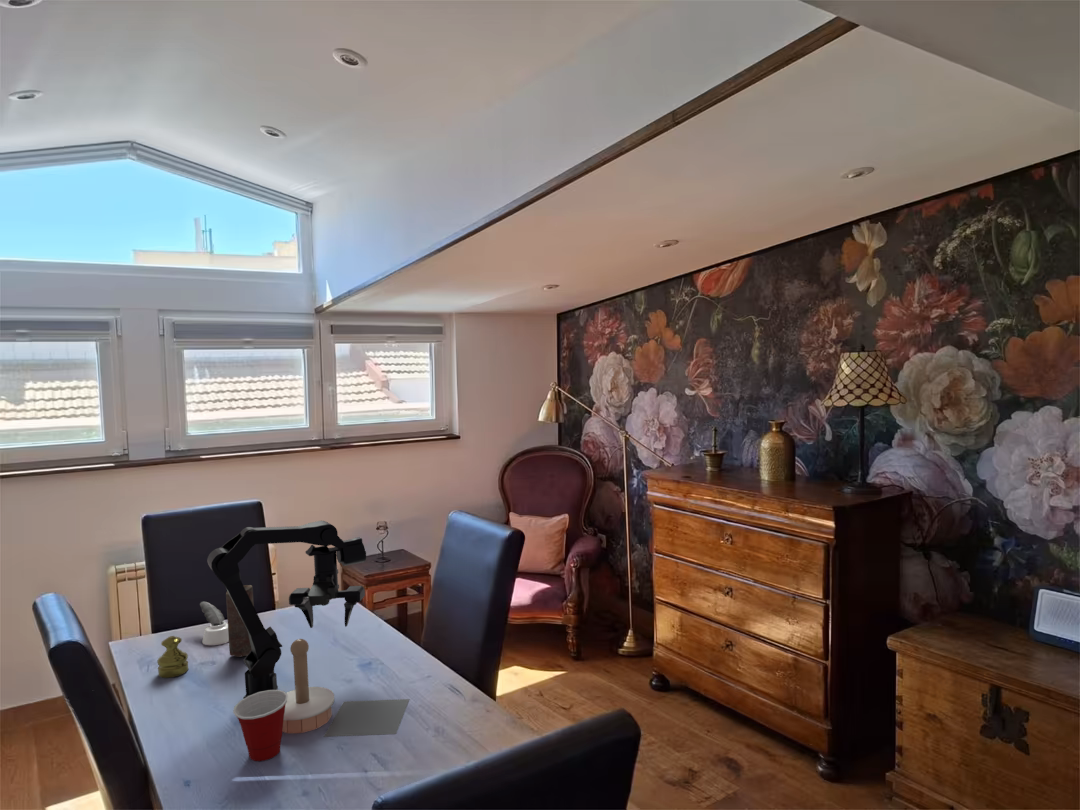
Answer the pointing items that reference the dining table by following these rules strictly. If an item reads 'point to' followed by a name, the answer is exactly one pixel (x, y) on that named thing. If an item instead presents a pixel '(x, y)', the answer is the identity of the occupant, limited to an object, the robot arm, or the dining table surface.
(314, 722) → the bowl
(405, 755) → the dining table surface
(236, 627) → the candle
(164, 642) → the olive green figurine
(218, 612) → the inkwell
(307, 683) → the peg stand
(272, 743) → the plastic cup
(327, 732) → the mat
